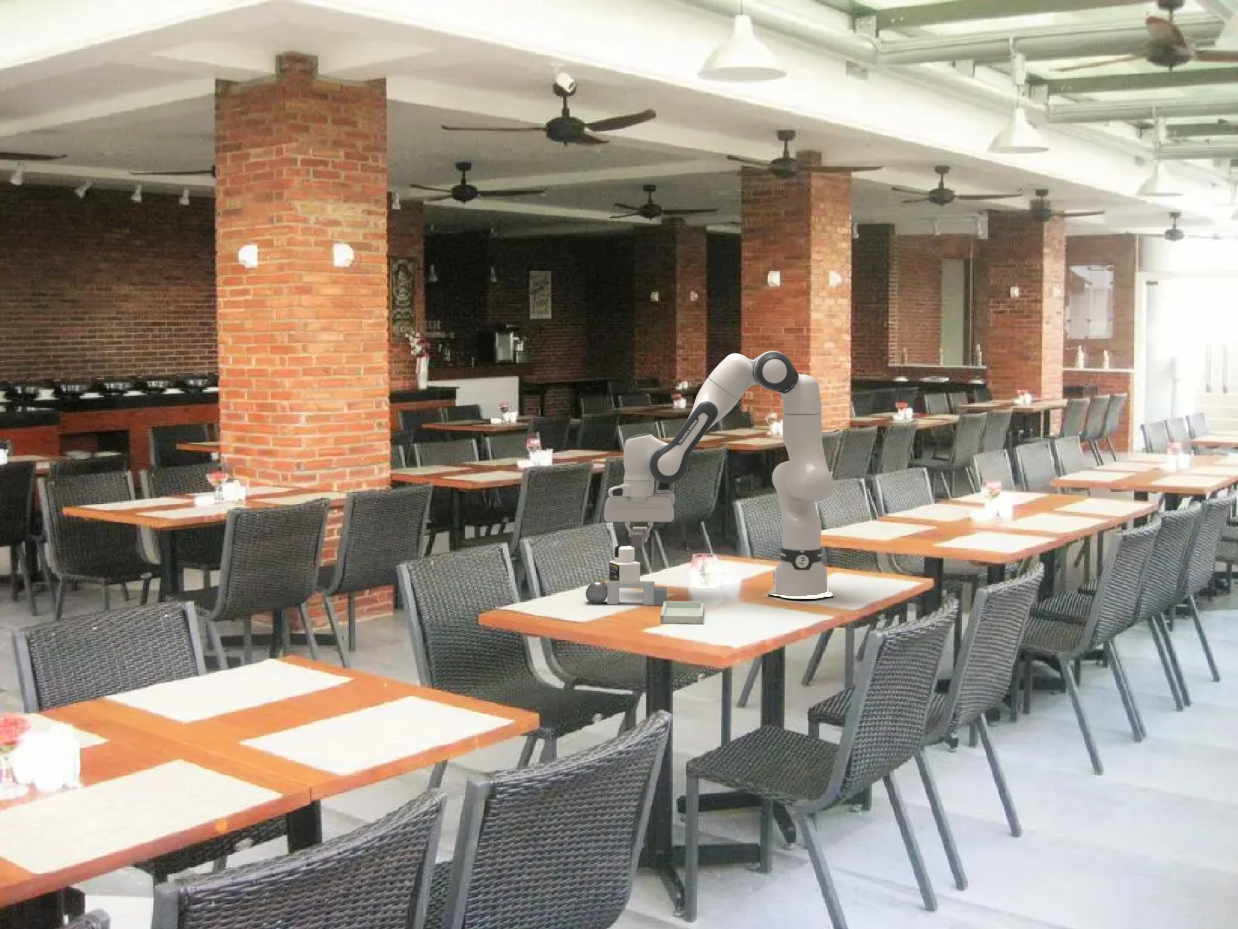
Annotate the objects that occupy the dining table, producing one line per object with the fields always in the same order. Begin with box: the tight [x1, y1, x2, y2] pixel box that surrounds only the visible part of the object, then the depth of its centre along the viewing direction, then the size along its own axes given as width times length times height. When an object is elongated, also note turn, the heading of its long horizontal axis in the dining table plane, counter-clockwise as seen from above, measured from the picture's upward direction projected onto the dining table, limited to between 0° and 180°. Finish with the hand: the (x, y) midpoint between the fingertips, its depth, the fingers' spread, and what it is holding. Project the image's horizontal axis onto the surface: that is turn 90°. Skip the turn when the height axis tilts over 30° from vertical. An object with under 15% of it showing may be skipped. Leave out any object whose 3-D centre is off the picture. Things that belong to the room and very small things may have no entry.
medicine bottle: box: [608, 544, 641, 581], centre depth 401 cm, size 7×7×12 cm
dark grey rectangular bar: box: [630, 526, 648, 548], centre depth 383 cm, size 14×4×4 cm, turn 175°
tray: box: [659, 600, 705, 625], centre depth 356 cm, size 20×11×2 cm, turn 175°
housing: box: [585, 579, 668, 607], centre depth 373 cm, size 5×22×6 cm, turn 85°
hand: (639, 537), depth 385 cm, fingers closed on dark grey rectangular bar, 3 cm apart
